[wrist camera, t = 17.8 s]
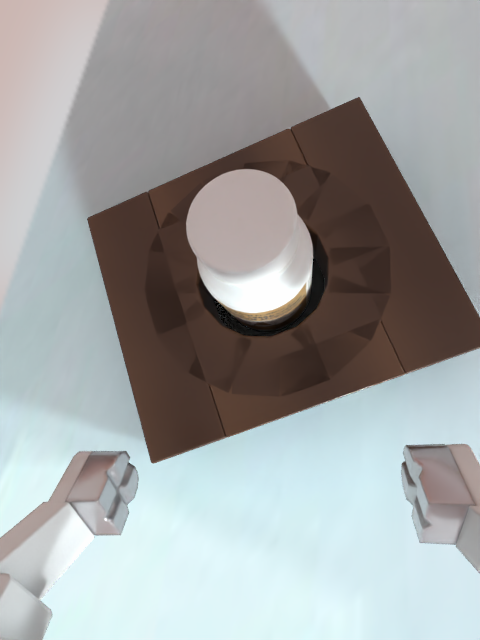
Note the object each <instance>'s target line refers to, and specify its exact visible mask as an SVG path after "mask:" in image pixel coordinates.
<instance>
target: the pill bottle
mask: <svg viewBox="0 0 480 640" xmlns="http://www.w3.org/2000/svg"><path fill="white" fill-rule="evenodd" d="M186 231H187V238H188V241H189V244H190V246H191V248H192V250H193V252H194V254H195V255H196V257H197V264H198V269H199V273H200V276H201V279H202V281H203V283H204V285H205V286H206V288H207V289H208V291H209V292H210V293H211V295H212V296H213V297H214V298H215V299H216V300H217V301H218V302H219V303H220V304H221V305H222V306H223V307H224V308H225V309H226V310H227V311H228V312H229V313H230V314H231V315H232V316H233V317H234V318H235V319H236V320H238V321H239V322H240V323H241V324H243V325H244V326H246V327H248V328H251V329H254V330H259V331H274V330H278V329H282V328H284V327H286V326H288V325H290V324H291V323H293V322H294V321H295V320H296V319H298V318H299V317H300V315H301V314H302V313H303V312H304V310H305V309H306V307H307V305H308V302H309V299H310V295H311V288H312V265H313V246H312V240H311V237H310V234H309V231H308V229H307V227H306V225H305V223H304V222H303V220H302V219H301V218H300V217H299V215H298V214H297V208H296V204H295V201H294V198H293V196H292V194H291V193H290V191H289V190H288V188H287V187H286V186H285V185H284V184H283V183H282V182H281V181H280V180H279V179H277V178H276V177H274V176H273V175H271V174H269V173H266V172H263V171H259V170H253V169H240V170H234V171H230V172H227V173H224V174H222V175H220V176H218V177H216V178H215V179H213V180H212V181H210V182H209V183H208V184H206V185H205V186H204V187H203V188H202V189H201V190H200V191H199V193H198V194H197V195H196V197H195V198H194V200H193V202H192V204H191V206H190V208H189V212H188V215H187V221H186Z"/></svg>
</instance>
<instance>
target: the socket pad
mask: <svg viewBox="0 0 480 640" xmlns="http://www.w3.org/2000/svg"><path fill="white" fill-rule="evenodd" d="M240 169H253V170H259V171H263V172H266V173H269V174H271V175H273V176H274V177H276V178H277V179H279V180H280V181H281V182H282V183H283V184H284V185H285V186H286V187H287V188H288V190H289V191H290V193H291V194H292V196H293V198H294V201H295V204H296V208H297V214H298V215H299V217H300V218H301V219H302V220H303V222H304V223H305V225H306V227H307V229H308V231H309V234H310V237H311V240H312V246H313V257H314V258H315V259H316V261H317V264H318V266H319V268H320V270H321V273H322V275H323V277H324V292H323V295H322V297H321V299H320V301H319V304H318V306H317V308H316V309H315V310H314V311H313V312H312V313H311V314H310V315H309V316H307V317H306V318H305V319H304V320H303V321H302V322H301V323H300V324H299V325H298V326H297V327H294V328H291V329H289V330H286V331H283V332H281V333H278V334H276V335H273V336H245V335H242V334H240V333H238V332H236V331H234V330H231V329H229V328H228V327H227V326H226V325H225V324H224V323H223V322H222V321H221V320H220V317H219V314H218V311H217V308H216V305H215V302H214V297H213V296H212V295H211V293H210V292H209V291H208V289H207V288H206V286H205V285H204V283H203V281H202V279H201V276H200V273H199V269H198V264H197V257H196V255H195V254H194V252H193V250H192V248H191V246H190V244H189V241H188V238H187V231H186V221H187V215H188V212H189V208H190V206H191V204H192V202H193V200H194V198H195V197H196V195H197V194H198V193H199V191H200V190H201V189H202V188H203V187H204V186H205V185H206V184H208V183H209V182H210V181H212V180H213V179H215V178H216V177H218V176H220V175H222V174H224V173H227V172H230V171H234V170H240ZM87 220H88V224H89V227H90V231H91V235H92V239H93V243H94V246H95V250H96V254H97V258H98V262H99V265H100V269H101V273H102V277H103V281H104V284H105V288H106V292H107V296H108V300H109V304H110V307H111V311H112V315H113V319H114V323H115V326H116V330H117V334H118V338H119V342H120V345H121V349H122V353H123V357H124V361H125V364H126V368H127V372H128V376H129V380H130V384H131V387H132V391H133V395H134V399H135V403H136V406H137V410H138V414H139V418H140V422H141V425H142V429H143V433H144V437H145V441H146V444H147V448H148V452H149V456H150V460H151V463H157V462H159V461H162V460H165V459H168V458H171V457H173V456H176V455H179V454H182V453H185V452H188V451H190V450H193V449H196V448H199V447H202V446H205V445H207V444H210V443H213V442H216V441H219V440H221V439H224V438H226V437H230V436H233V435H236V434H239V433H241V432H244V431H247V430H250V429H253V428H255V427H258V426H261V425H264V424H267V423H270V422H272V421H275V420H278V419H281V418H284V417H287V416H289V415H292V414H295V413H298V412H301V411H303V410H306V409H309V408H312V407H315V406H318V405H320V404H323V403H326V402H329V401H332V400H335V399H337V398H340V397H343V396H346V395H349V394H351V393H354V392H357V391H360V390H363V389H366V388H368V387H371V386H374V385H377V384H380V383H383V382H385V381H388V380H391V379H394V378H397V377H399V376H402V375H404V374H408V373H411V372H414V371H416V370H419V369H422V368H425V367H428V366H430V365H433V364H436V363H439V362H442V361H445V360H447V359H450V358H453V357H456V356H459V355H462V354H464V353H467V352H470V351H473V350H476V349H478V348H480V317H479V315H478V313H477V311H476V310H475V308H474V306H473V304H472V302H471V300H470V299H469V297H468V295H467V293H466V291H465V289H464V288H463V286H462V284H461V282H460V280H459V278H458V277H457V275H456V273H455V271H454V269H453V267H452V266H451V264H450V262H449V260H448V258H447V256H446V255H445V253H444V251H443V249H442V247H441V245H440V244H439V242H438V240H437V238H436V236H435V234H434V233H433V231H432V229H431V227H430V225H429V224H428V222H427V220H426V218H425V216H424V214H423V213H422V211H421V209H420V207H419V205H418V203H417V202H416V200H415V198H414V196H413V194H412V192H411V191H410V189H409V187H408V185H407V183H406V181H405V180H404V178H403V176H402V174H401V172H400V170H399V169H398V167H397V165H396V163H395V161H394V159H393V158H392V156H391V154H390V152H389V150H388V148H387V147H386V145H385V143H384V141H383V139H382V137H381V136H380V134H379V132H378V130H377V128H376V126H375V125H374V123H373V121H372V119H371V117H370V115H369V114H368V112H367V110H366V108H365V106H364V104H363V103H362V101H361V99H360V97H358V98H356V99H353V100H351V101H349V102H347V103H344V104H342V105H340V106H338V107H335V108H333V109H331V110H329V111H326V112H324V113H322V114H320V115H317V116H315V117H313V118H311V119H308V120H306V121H304V122H302V123H299V124H297V125H295V126H293V127H291V130H290V129H286V130H284V131H282V132H280V133H277V134H275V135H273V136H271V137H268V138H266V139H264V140H262V141H259V142H257V143H255V144H253V145H250V146H248V147H246V148H244V149H241V150H239V151H237V152H235V153H232V154H230V155H228V156H226V157H223V158H221V159H219V160H217V161H214V162H212V163H210V164H208V165H205V166H203V167H201V168H199V169H196V170H194V171H192V172H190V173H187V174H185V175H183V176H181V177H178V178H176V179H174V180H172V181H169V182H167V183H165V184H163V185H160V186H158V187H156V188H154V189H151V190H149V191H148V192H145V193H142V194H140V195H138V196H136V197H133V198H131V199H129V200H127V201H124V202H122V203H120V204H118V205H115V206H113V207H111V208H109V209H106V210H104V211H102V212H100V213H97V214H95V215H93V216H91V217H88V219H87Z"/></svg>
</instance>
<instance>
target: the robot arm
mask: <svg viewBox="0 0 480 640" xmlns="http://www.w3.org/2000/svg"><path fill="white" fill-rule="evenodd" d="M403 455H404V458H405V462H403V463H402V467H401V477H402V484H403V489H404V493H405V496H406V499H407V500H408V501H409V502H410V503H411V504H412V505H413V511H412V519H413V523H414V526H415V529H416V532H417V536H418V539H419V542H420V543H433V544H452V545H456V547H457V549H458V550H459V551H460V552H461V553H462V554H463V555H464V556H465V558H466V559H467V560H468V561H469V562H470V563H471V564H472V565H473V567H474V568H475V569H476V570H477V571H478V572H479V573H480V464H479V462H478V460H477V458H476V457H475V455H474V453H473V451H472V449H471V448H470V447H469V446H468V445H467V444H451V445H445V444H430V445H406V446H405V447H404V451H403ZM129 459H130V457H129V455H128V453H127V452H126V451H79V452H78V453H77V454H76V455H75V456H74V457H73V459H72V460H71V462H70V464H69V466H68V467H67V469H66V471H65V473H64V474H63V476H62V478H61V480H60V482H59V483H58V485H57V487H56V489H55V490H54V492H53V494H52V496H51V497H50V499H49V501H48V502H43V503H42V504H41V505H39V506H38V507H37V508H36V509H35V510H33V511H32V512H31V513H30V514H29V515H27V516H26V517H25V518H24V519H23V520H21V521H20V522H19V523H18V524H17V525H15V526H14V527H13V528H12V529H11V530H9V531H8V532H7V533H6V534H5V535H3V536H2V537H1V538H0V640H42V639H43V637H44V634H45V632H46V630H47V627H48V625H49V623H50V620H51V618H52V611H51V609H49V608H48V607H47V606H46V605H45V604H44V603H42V602H41V601H40V600H41V599H42V598H43V597H44V596H45V595H46V593H47V592H48V591H49V590H50V589H51V588H52V586H53V585H54V584H55V583H56V582H57V581H58V579H59V578H60V577H61V576H62V575H63V574H64V572H65V571H66V570H67V569H68V568H69V567H70V565H71V564H72V563H73V562H74V561H75V560H76V558H77V557H78V556H79V555H80V554H81V553H82V551H83V550H84V549H85V548H86V547H87V546H88V545H89V543H90V542H91V541H92V540H93V539H94V538H95V536H94V535H121V533H122V531H123V528H124V525H125V522H126V520H127V517H128V514H129V510H128V507H127V505H128V504H129V503H130V502H131V501H132V500H133V499H134V497H135V494H136V491H137V488H138V479H139V478H138V472H137V470H136V468H135V466H133V465H132V464H130V463H128V462H129Z"/></svg>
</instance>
